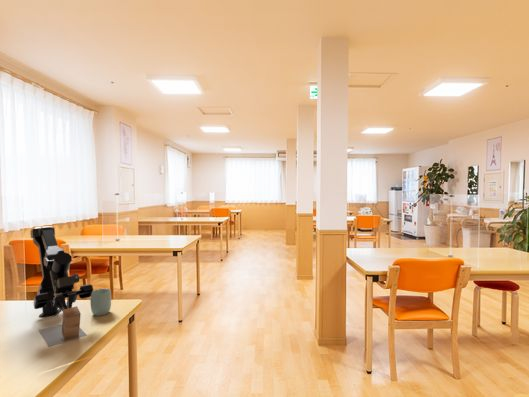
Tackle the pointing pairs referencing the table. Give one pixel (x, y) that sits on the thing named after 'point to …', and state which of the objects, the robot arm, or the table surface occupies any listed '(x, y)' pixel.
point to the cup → (100, 301)
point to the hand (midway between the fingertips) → (69, 315)
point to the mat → (57, 335)
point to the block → (70, 323)
